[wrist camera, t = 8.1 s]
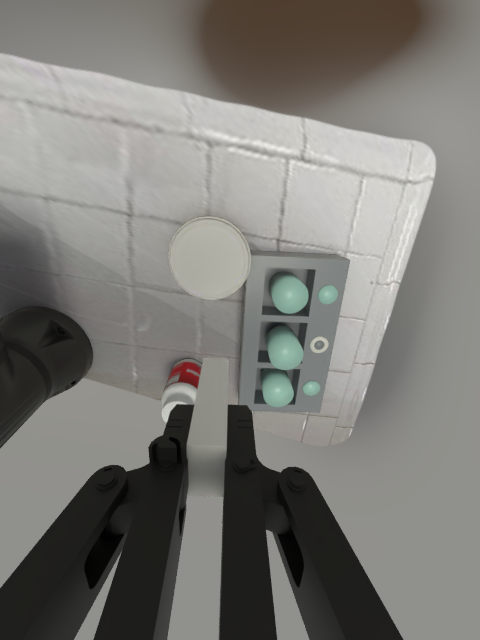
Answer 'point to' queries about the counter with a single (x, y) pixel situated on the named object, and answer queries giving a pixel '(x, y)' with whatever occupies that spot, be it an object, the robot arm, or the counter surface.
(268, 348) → the button
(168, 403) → the pill bottle
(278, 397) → the button
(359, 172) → the counter surface
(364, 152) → the counter surface
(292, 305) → the button
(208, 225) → the coffee cup
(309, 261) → the board
